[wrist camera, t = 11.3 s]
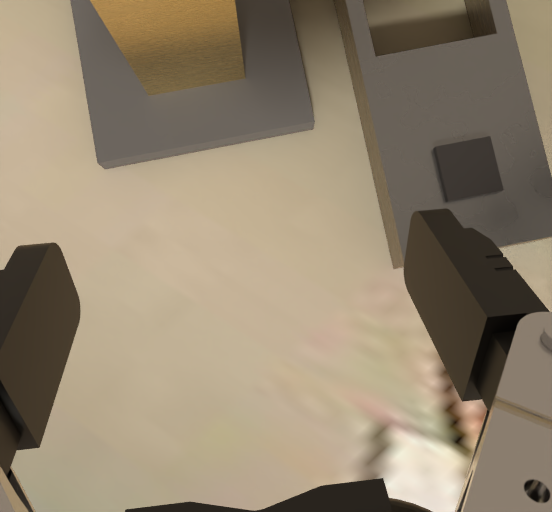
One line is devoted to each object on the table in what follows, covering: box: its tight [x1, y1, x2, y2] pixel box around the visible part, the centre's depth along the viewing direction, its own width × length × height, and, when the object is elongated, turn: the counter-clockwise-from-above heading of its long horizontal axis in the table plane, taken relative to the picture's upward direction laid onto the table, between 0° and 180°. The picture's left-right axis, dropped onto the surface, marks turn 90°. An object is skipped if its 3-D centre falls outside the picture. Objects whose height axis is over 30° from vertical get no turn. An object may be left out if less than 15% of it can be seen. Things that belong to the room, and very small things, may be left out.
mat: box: [71, 0, 315, 169], centre depth 23 cm, size 10×10×1 cm
